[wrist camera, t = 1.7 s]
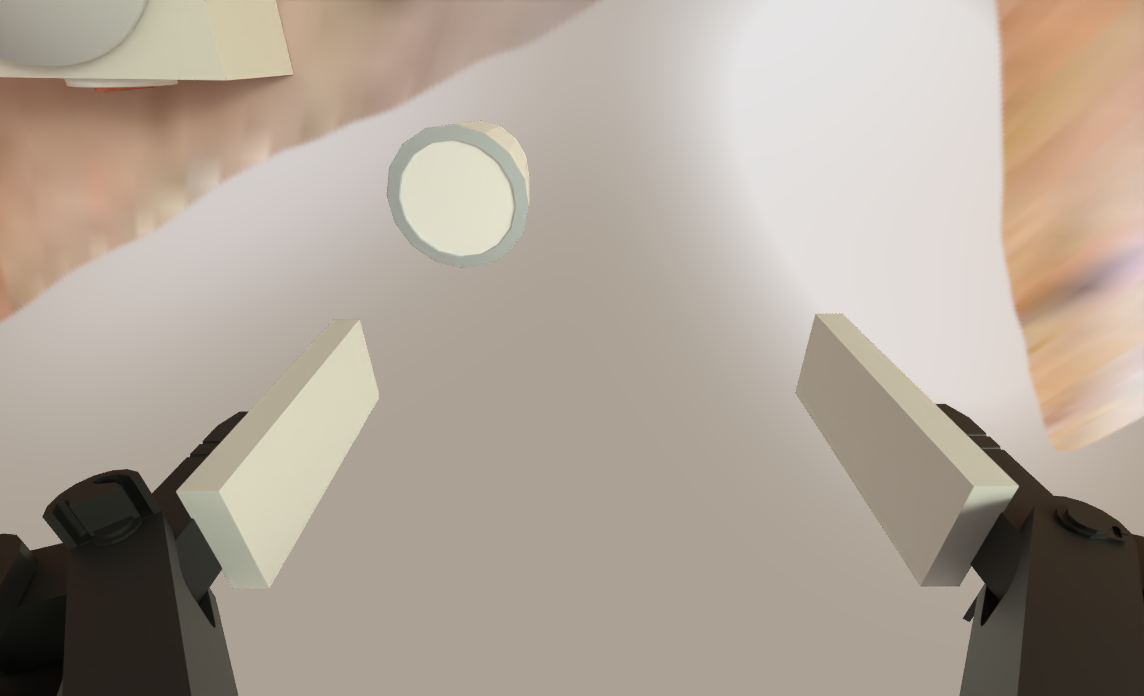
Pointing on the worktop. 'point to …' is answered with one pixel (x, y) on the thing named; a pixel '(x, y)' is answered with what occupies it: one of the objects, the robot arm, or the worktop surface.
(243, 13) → the kitchen scale
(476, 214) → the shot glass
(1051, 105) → the worktop surface
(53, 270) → the worktop surface
